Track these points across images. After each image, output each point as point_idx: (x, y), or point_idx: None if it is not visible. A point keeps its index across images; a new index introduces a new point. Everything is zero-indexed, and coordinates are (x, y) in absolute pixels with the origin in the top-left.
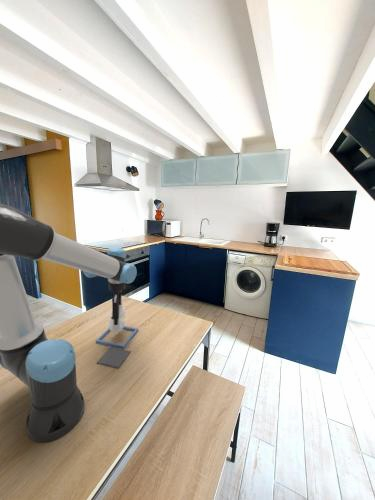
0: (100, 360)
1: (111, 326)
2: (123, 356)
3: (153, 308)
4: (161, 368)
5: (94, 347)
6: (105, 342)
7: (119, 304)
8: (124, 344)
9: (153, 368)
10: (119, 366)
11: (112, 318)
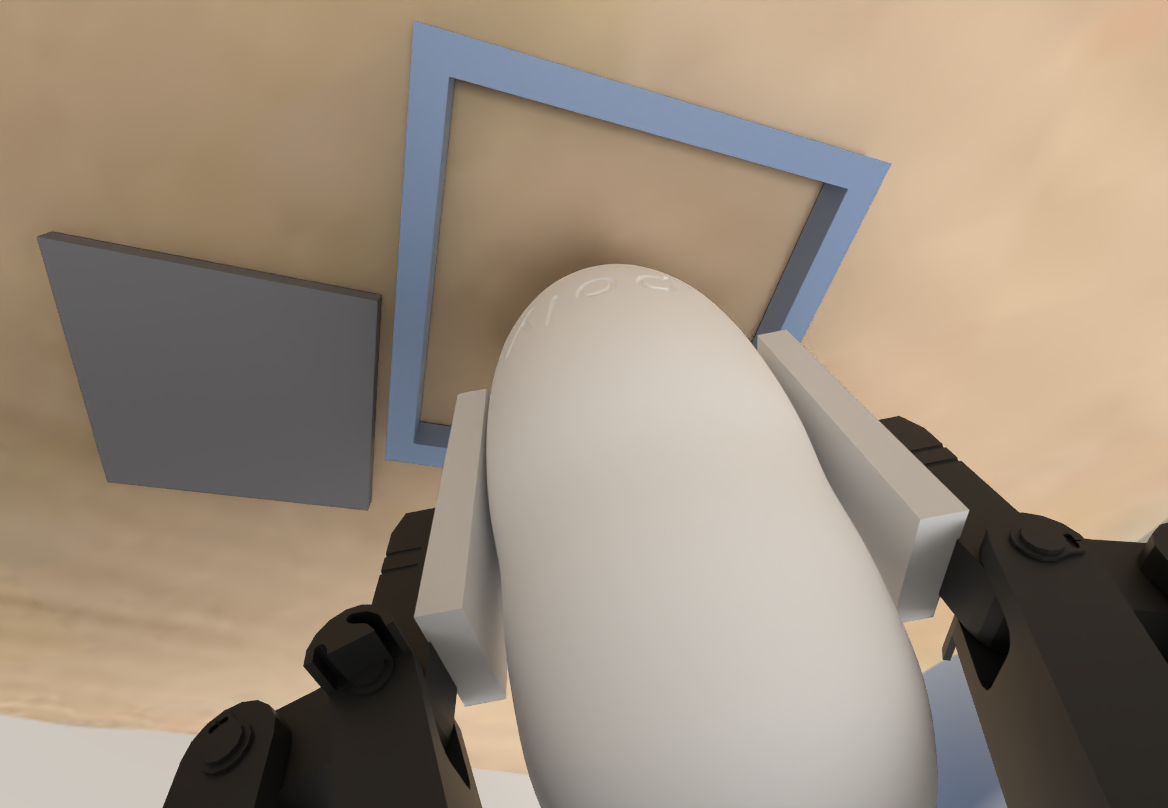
0: (90, 272)
1: (494, 379)
2: (266, 478)
3: (1126, 518)
4: (270, 695)
5: (325, 46)
6: (403, 221)
7: (1022, 788)
8: (421, 456)
9: (249, 663)
10: (127, 481)
11: (179, 767)
